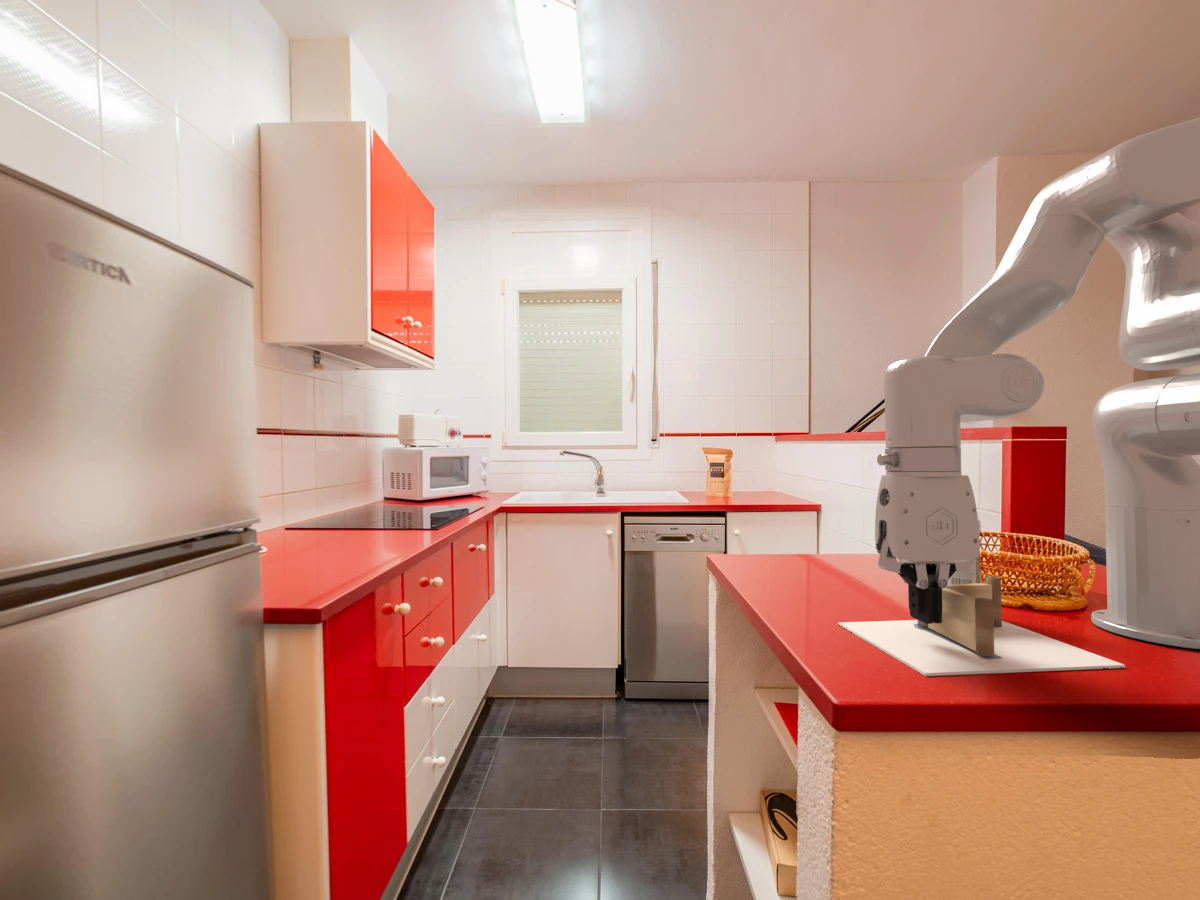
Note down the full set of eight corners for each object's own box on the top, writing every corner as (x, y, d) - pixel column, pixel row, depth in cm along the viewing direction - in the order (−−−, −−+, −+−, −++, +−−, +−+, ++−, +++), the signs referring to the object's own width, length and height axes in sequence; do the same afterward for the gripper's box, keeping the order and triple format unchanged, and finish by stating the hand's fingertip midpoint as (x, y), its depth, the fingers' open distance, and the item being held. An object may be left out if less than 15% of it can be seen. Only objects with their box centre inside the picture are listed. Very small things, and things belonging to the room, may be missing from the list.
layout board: (993, 619, 69) (993, 616, 69) (1124, 667, 53) (1124, 663, 53) (837, 624, 67) (837, 621, 67) (925, 676, 51) (925, 672, 51)
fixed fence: (993, 625, 67) (992, 571, 67) (1005, 629, 65) (1004, 574, 65) (914, 627, 66) (913, 573, 66) (924, 632, 64) (923, 576, 64)
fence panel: (925, 627, 64) (924, 580, 64) (938, 627, 64) (937, 580, 64) (983, 656, 54) (982, 601, 54) (998, 656, 54) (997, 601, 54)
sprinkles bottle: (988, 614, 71) (986, 518, 71) (974, 620, 68) (972, 520, 69) (951, 607, 75) (949, 515, 75) (936, 612, 72) (935, 517, 73)
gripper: (882, 464, 56) (885, 633, 55) (1009, 463, 57) (1013, 628, 56) (843, 463, 63) (846, 612, 63) (956, 462, 64) (960, 608, 64)
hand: (925, 619), depth 60 cm, fingers closed
